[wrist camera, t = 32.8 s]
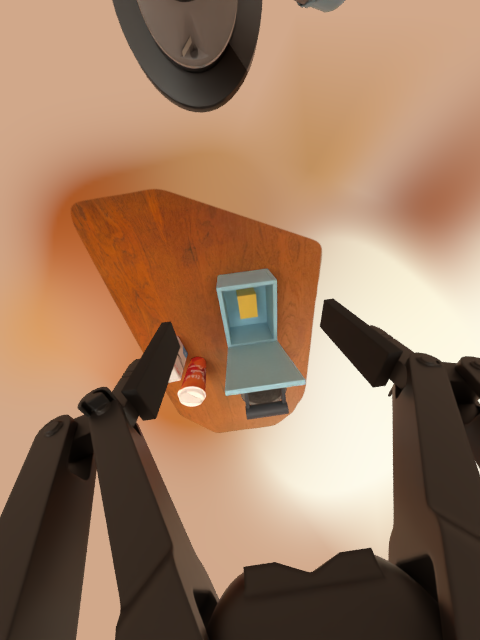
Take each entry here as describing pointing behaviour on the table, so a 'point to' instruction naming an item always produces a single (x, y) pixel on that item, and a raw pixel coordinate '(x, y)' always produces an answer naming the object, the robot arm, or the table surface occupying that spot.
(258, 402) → the planter
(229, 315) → the cool box
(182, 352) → the ink box
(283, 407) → the cool box lid
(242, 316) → the block
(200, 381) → the coffee cup
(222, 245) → the table surface
